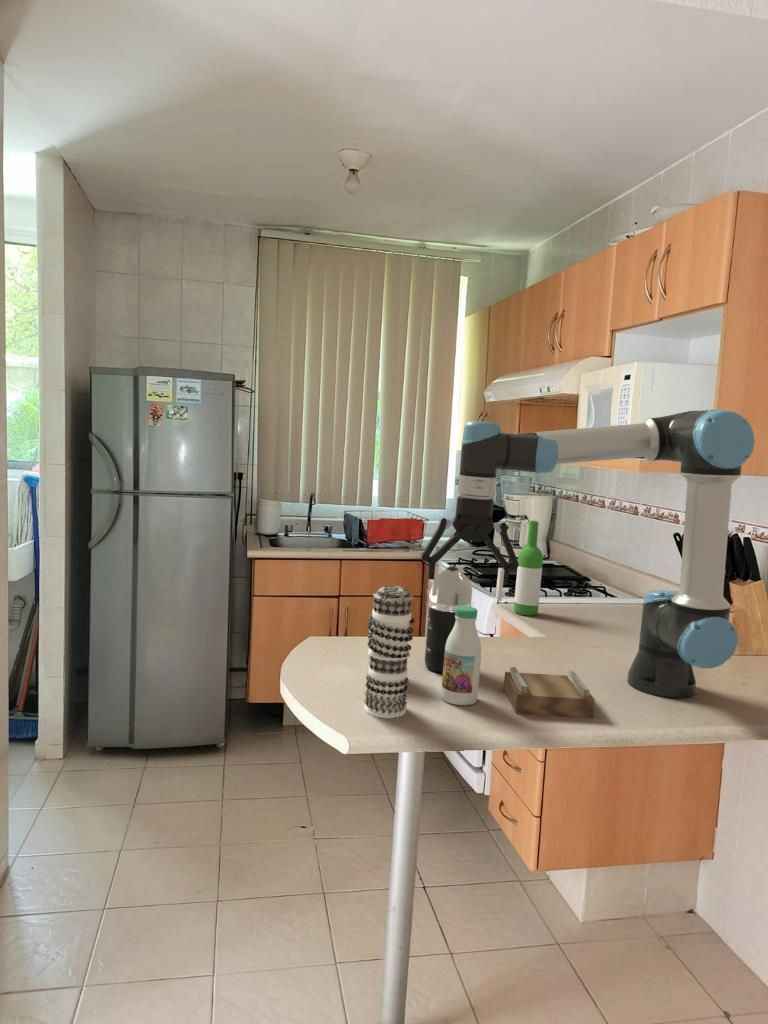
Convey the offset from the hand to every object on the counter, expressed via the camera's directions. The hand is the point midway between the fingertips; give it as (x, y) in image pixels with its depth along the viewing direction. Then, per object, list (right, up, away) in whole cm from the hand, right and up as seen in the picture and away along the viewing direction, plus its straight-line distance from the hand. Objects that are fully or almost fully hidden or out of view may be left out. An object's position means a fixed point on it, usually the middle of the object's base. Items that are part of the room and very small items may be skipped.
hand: (466, 597), depth 153 cm
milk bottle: (-1, -22, +3) cm, 23 cm away
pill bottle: (-17, -20, +13) cm, 30 cm away
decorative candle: (-17, -22, -6) cm, 29 cm away
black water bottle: (-3, -20, +23) cm, 30 cm away
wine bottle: (+28, -15, +82) cm, 88 cm away
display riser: (+18, -23, +4) cm, 29 cm away
